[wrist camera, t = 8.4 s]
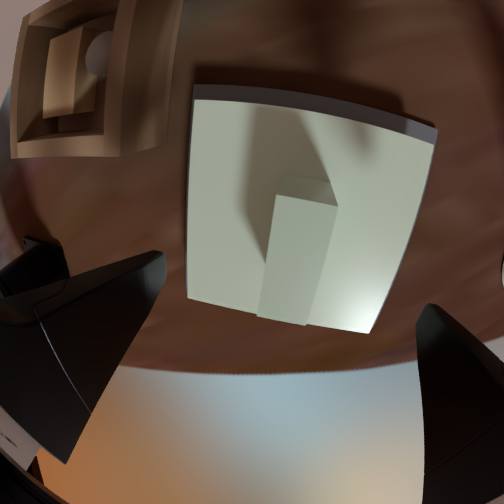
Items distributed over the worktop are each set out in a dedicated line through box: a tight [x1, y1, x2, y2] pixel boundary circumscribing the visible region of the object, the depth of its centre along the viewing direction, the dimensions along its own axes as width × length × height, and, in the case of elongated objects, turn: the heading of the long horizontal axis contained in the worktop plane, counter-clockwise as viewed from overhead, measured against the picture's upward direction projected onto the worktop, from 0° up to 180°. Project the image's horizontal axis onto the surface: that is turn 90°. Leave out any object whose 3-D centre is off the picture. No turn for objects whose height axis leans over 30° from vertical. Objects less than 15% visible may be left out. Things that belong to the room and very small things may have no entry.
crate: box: [10, 0, 184, 159], centre depth 11 cm, size 10×10×4 cm
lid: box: [187, 100, 434, 333], centre depth 12 cm, size 11×11×6 cm
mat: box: [185, 84, 438, 326], centre depth 15 cm, size 13×13×1 cm
